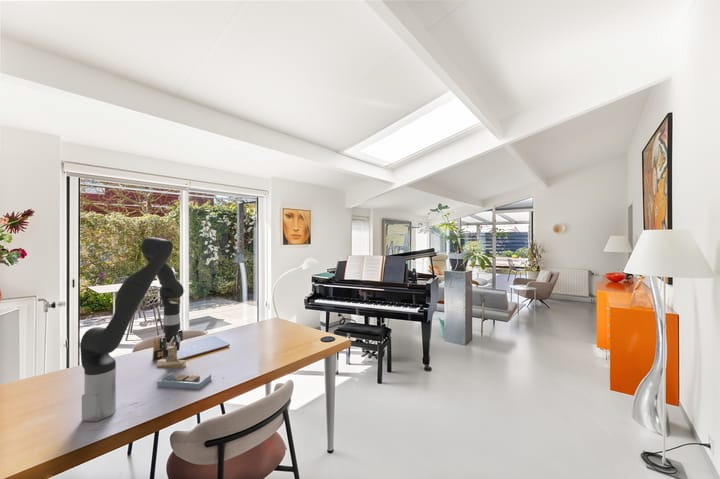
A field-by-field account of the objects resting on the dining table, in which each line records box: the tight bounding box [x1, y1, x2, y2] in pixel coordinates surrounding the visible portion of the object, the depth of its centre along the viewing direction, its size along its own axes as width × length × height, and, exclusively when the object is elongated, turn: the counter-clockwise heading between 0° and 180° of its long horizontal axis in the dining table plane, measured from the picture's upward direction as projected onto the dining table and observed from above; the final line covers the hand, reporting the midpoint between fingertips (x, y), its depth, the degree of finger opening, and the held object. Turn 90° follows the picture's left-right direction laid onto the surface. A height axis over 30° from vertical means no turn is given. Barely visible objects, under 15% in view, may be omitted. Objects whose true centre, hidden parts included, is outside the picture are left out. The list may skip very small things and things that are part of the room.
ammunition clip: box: [152, 336, 175, 361], centre depth 175 cm, size 11×2×12 cm, turn 139°
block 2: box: [184, 374, 201, 382], centre depth 146 cm, size 5×4×2 cm
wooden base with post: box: [156, 345, 187, 369], centre depth 163 cm, size 3×14×10 cm, turn 84°
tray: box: [157, 371, 212, 390], centre depth 146 cm, size 10×20×2 cm, turn 84°
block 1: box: [173, 374, 190, 382], centre depth 146 cm, size 5×4×2 cm
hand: (171, 353), depth 164 cm, fingers open, 8 cm apart
